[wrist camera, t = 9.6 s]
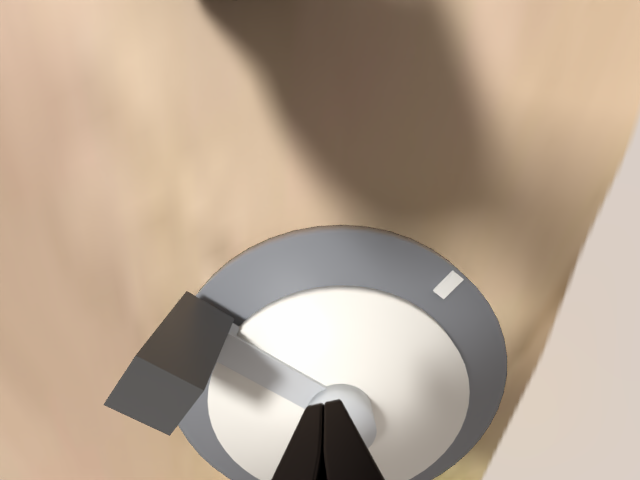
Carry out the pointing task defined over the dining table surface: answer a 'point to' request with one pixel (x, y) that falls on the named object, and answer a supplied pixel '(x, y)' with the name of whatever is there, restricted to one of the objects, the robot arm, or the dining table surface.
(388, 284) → the dial base
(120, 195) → the dining table surface
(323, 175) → the dining table surface
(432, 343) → the dial
